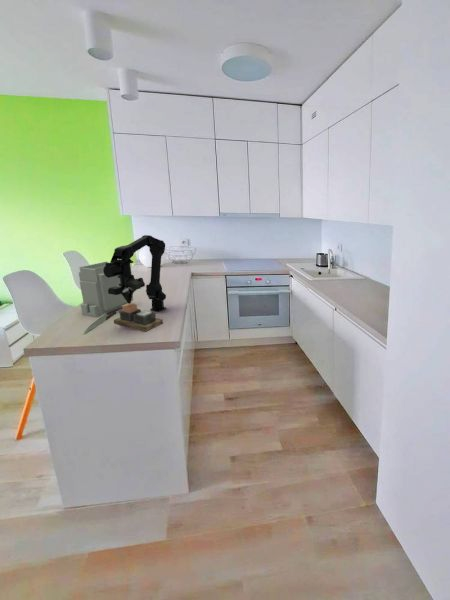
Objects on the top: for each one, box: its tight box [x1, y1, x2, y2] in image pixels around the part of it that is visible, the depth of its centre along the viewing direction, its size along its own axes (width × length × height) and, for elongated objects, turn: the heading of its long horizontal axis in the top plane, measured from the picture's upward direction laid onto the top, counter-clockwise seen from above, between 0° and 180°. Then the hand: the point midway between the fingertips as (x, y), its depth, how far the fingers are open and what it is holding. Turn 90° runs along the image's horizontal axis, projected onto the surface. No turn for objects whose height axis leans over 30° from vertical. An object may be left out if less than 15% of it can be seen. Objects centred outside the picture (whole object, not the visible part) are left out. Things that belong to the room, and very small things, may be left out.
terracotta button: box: [121, 302, 138, 313], centre depth 146 cm, size 5×5×4 cm
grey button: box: [137, 310, 152, 317], centre depth 142 cm, size 5×5×4 cm
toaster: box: [78, 261, 134, 318], centre depth 166 cm, size 17×27×26 cm, turn 153°
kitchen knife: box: [82, 310, 118, 336], centre depth 146 cm, size 4×1×30 cm
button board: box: [113, 308, 164, 333], centre depth 145 cm, size 12×22×6 cm, turn 59°
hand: (129, 303), depth 145 cm, fingers closed
